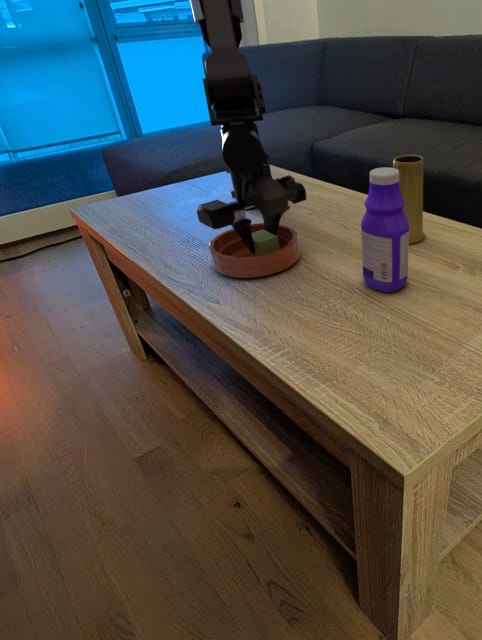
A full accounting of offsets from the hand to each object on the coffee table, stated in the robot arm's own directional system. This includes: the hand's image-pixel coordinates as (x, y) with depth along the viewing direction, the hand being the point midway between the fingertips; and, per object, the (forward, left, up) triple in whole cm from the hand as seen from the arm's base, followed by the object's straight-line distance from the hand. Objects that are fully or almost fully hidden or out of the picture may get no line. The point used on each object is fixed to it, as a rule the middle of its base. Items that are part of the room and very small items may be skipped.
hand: (262, 249), depth 82 cm
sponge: (0, 0, -1) cm, 1 cm away
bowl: (0, -2, -1) cm, 2 cm away
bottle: (+24, +7, -2) cm, 25 cm away
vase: (+14, +23, -2) cm, 27 cm away
